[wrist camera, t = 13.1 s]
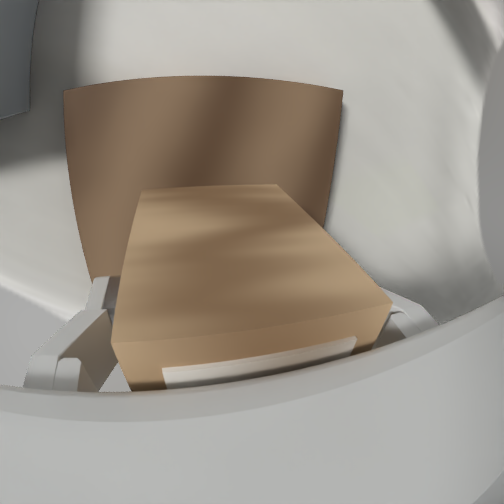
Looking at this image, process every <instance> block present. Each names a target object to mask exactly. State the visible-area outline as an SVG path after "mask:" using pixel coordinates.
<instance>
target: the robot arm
mask: <svg viewBox="0 0 504 504" xmlns="http://www.w3.org/2000/svg"><path fill="white" fill-rule="evenodd" d="M120 279H121V275H117V276H101V277H96V278H94V281H93V284H92V287H91V290H90V294H89V297H88V301H87V304H86V308H85V310H81V311H80V312H78V313H77V314H76V315H75V316H74V317H73V318H72V319H71V320H69V321H68V322H67V323H66V324H65V325H64V326H63V327H62V328H61V329H59V330H58V331H57V332H56V333H55V334H54V335H53V336H52V337H51V338H50V339H49V340H47V341H46V342H45V343H44V344H43V345H42V346H41V347H40V348H39V349H38V350H37V351H36V352H35V353H34V354H33V355H32V356H31V359H30V363H29V366H28V370H27V373H26V377H25V381H24V385H23V388H22V387H14V386H6V385H0V504H504V295H503V296H501V297H499V298H497V299H495V300H493V301H491V302H489V303H487V304H485V305H483V306H481V307H479V308H477V309H475V310H473V311H471V312H469V313H466V314H464V315H462V316H460V317H457V318H455V319H453V320H451V321H448V322H446V323H444V324H441V325H439V324H438V323H437V322H436V321H435V320H434V318H433V317H432V316H431V315H430V314H429V313H428V312H427V311H426V310H425V309H424V308H423V307H422V306H421V305H420V304H417V303H415V302H413V301H411V300H408V299H406V298H404V297H402V296H399V295H397V294H395V293H393V292H390V291H388V290H386V289H384V288H381V287H380V288H381V289H382V290H383V292H384V293H385V294H386V295H387V296H388V297H389V298H390V299H391V300H392V302H393V304H392V307H391V309H390V311H389V313H388V316H387V318H386V320H385V322H384V324H383V327H382V329H381V331H380V333H379V335H378V337H377V339H376V341H375V343H374V345H373V347H372V349H371V350H370V351H366V352H363V353H360V354H356V355H353V356H349V357H346V358H342V359H339V360H335V361H331V362H327V363H324V364H320V365H316V366H312V367H307V368H303V369H299V370H294V371H290V372H285V373H280V374H275V375H270V376H265V377H260V378H254V379H248V380H242V381H236V382H229V383H222V384H215V385H207V386H199V387H190V388H179V389H167V390H153V391H133V392H98V391H99V390H100V388H101V387H102V385H103V384H104V382H105V381H106V379H107V378H108V376H109V375H110V373H111V372H112V370H113V369H114V367H115V366H116V364H117V363H118V360H117V357H116V355H115V352H114V350H113V347H112V345H111V336H112V328H113V321H114V314H115V308H116V302H117V296H118V290H119V284H120Z"/></svg>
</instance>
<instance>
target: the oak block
mask: <svg viewBox="0 0 504 504" xmlns="http://www.w3.org/2000/svg"><path fill="white" fill-rule="evenodd" d="M392 304H393V302H392V300H391V299H390V298H389V297H388V296H387V295H386V294H385V293H384V292H383V290H382V289H381V288H380V287H379V286H378V285H377V284H376V283H375V282H374V281H373V280H372V279H371V277H370V276H369V275H368V274H367V273H366V272H365V271H364V270H363V269H362V268H361V267H360V266H359V265H358V264H357V263H356V262H355V261H354V260H353V258H352V257H351V256H350V255H349V254H348V253H347V252H346V251H345V250H344V249H343V248H342V247H341V246H340V245H339V244H338V243H337V242H336V241H335V240H334V239H333V238H332V237H331V236H330V235H329V234H328V233H327V232H326V231H325V230H324V229H323V228H322V227H321V226H320V225H319V224H318V223H317V222H316V221H315V220H314V219H313V218H312V217H311V216H310V215H309V214H307V213H306V212H305V211H304V210H303V209H302V208H301V207H300V206H299V205H298V204H297V203H296V202H295V201H294V200H293V199H292V198H291V197H290V196H289V195H287V194H286V193H285V192H284V191H283V190H282V189H281V188H280V187H279V186H278V185H277V184H264V185H219V186H196V187H178V188H163V189H149V190H142V191H141V195H140V198H139V202H138V205H137V209H136V213H135V217H134V220H133V224H132V228H131V233H130V237H129V241H128V245H127V250H126V254H125V259H124V264H123V269H122V274H121V279H120V284H119V290H118V296H117V302H116V308H115V314H114V321H113V328H112V336H111V345H112V347H113V350H114V352H115V355H116V357H117V360H118V362H119V364H120V367H121V369H122V371H123V374H124V376H125V378H126V380H127V382H128V384H129V387H130V389H131V391H132V392H133V391H153V390H167V389H179V388H190V387H199V386H207V385H215V384H222V383H229V382H236V381H242V380H248V379H254V378H260V377H265V376H270V375H275V374H280V373H285V372H290V371H294V370H299V369H303V368H307V367H312V366H316V365H320V364H324V363H327V362H331V361H335V360H339V359H342V358H346V357H349V356H353V355H356V354H360V353H363V352H366V351H370V350H371V349H372V347H373V345H374V343H375V341H376V339H377V337H378V335H379V333H380V331H381V329H382V327H383V324H384V322H385V320H386V318H387V316H388V313H389V311H390V309H391V307H392Z"/></svg>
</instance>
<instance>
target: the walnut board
mask: <svg viewBox="0 0 504 504" xmlns="http://www.w3.org/2000/svg"><path fill="white" fill-rule="evenodd" d="M342 98H343V90H338V89H333V88H328V87H323V86H317V85H311V84H304V83H297V82H290V81H282V80H273V79H263V78H250V77H233V76H171V77H154V78H142V79H131V80H123V81H115V82H108V83H101V84H95V85H89V86H84V87H79V88H74V89H69V90H64V91H63V101H64V128H65V142H66V154H67V163H68V171H69V179H70V186H71V192H72V199H73V204H74V210H75V215H76V220H77V225H78V230H79V235H80V239H81V243H82V248H83V252H84V256H85V260H86V263H87V267H88V271H89V274H90V278H91V281H92V284H93V281H94V278H96V277H101V276H117V275H121V274H122V269H123V264H124V259H125V254H126V250H127V245H128V241H129V237H130V233H131V228H132V224H133V220H134V217H135V213H136V209H137V205H138V202H139V198H140V195H141V191H142V190H149V189H163V188H178V187H196V186H219V185H264V184H277V185H278V186H279V187H280V188H281V189H282V190H283V191H284V192H285V193H286V194H287V195H289V196H290V197H291V198H292V199H293V200H294V201H295V202H296V203H297V204H298V205H299V206H300V207H301V208H302V209H303V210H304V211H305V212H306V213H307V214H309V215H310V216H311V217H312V218H313V219H314V220H315V221H316V222H317V223H318V224H319V225H320V226H321V227H322V228H323V226H324V221H325V216H326V210H327V204H328V199H329V193H330V187H331V180H332V174H333V168H334V161H335V154H336V147H337V140H338V132H339V124H340V116H341V107H342Z"/></svg>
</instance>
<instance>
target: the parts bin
mask: <svg viewBox="0 0 504 504" xmlns="http://www.w3.org/2000/svg"><path fill="white" fill-rule="evenodd" d="M38 1H39V0H0V120H1V119H4V118H7V117H10V116H13V115H16V114H20V113H23V112H26V111H30V62H31V49H32V39H33V31H34V24H35V17H36V11H37V6H38Z"/></svg>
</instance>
